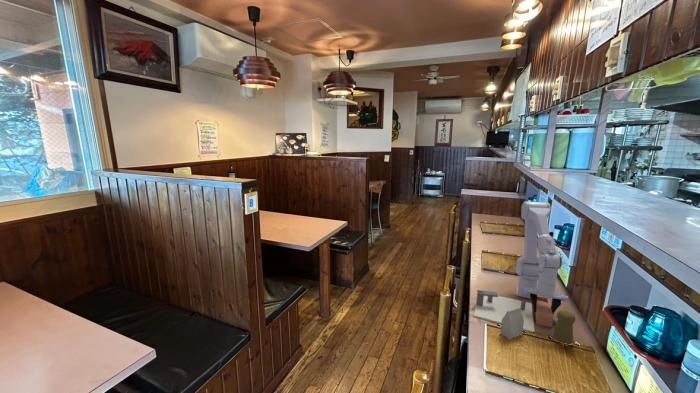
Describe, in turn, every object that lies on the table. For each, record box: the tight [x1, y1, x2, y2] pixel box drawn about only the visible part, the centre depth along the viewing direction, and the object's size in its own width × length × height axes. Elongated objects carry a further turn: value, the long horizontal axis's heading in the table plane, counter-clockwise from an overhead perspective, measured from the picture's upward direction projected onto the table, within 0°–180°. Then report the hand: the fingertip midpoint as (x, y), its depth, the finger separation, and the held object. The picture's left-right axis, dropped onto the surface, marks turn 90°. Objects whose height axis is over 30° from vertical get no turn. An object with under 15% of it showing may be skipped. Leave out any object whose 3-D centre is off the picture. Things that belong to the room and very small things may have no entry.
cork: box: [552, 310, 576, 344], centre depth 101 cm, size 6×6×11 cm
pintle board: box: [473, 289, 535, 333], centre depth 120 cm, size 22×21×6 cm
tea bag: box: [500, 307, 524, 340], centre depth 104 cm, size 4×7×10 cm, turn 113°
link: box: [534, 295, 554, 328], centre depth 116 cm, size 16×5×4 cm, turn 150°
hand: (542, 313), depth 116 cm, fingers closed on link, 5 cm apart
